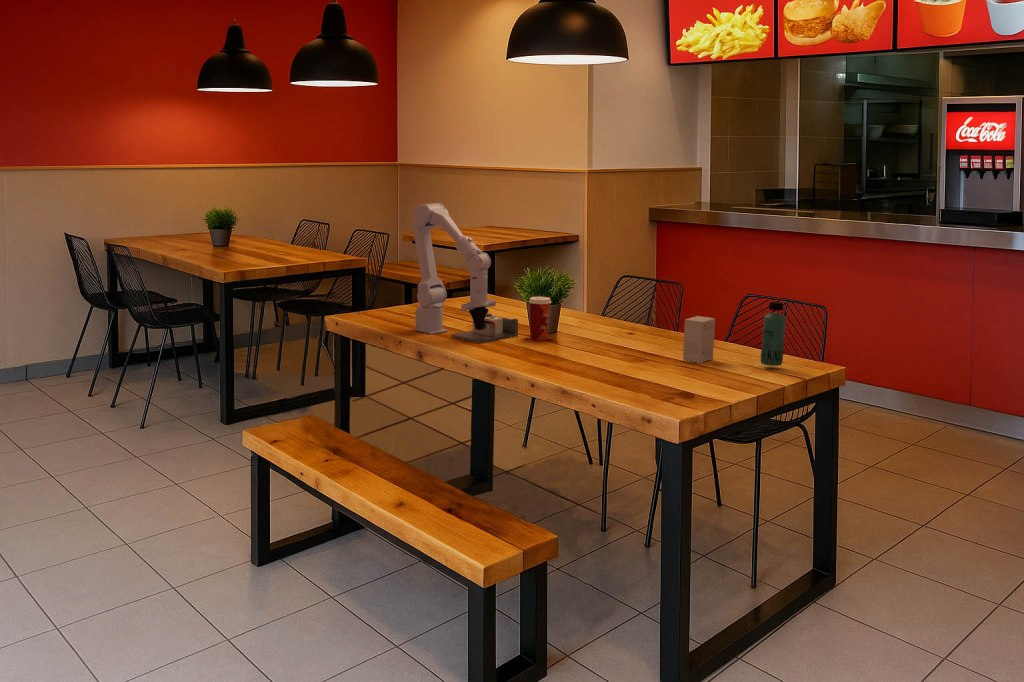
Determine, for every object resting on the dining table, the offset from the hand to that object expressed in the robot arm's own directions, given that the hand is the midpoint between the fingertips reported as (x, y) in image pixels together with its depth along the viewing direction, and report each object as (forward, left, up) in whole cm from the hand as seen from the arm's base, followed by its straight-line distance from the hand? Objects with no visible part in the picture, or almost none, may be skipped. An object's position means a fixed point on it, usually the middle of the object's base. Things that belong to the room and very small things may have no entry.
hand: (478, 329), depth 311 cm
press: (0, +3, -3) cm, 4 cm away
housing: (0, +7, -2) cm, 7 cm away
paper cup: (+15, +14, -3) cm, 21 cm away
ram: (0, +3, -2) cm, 3 cm away
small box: (+69, +27, -3) cm, 74 cm away
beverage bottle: (+90, +34, -3) cm, 96 cm away
